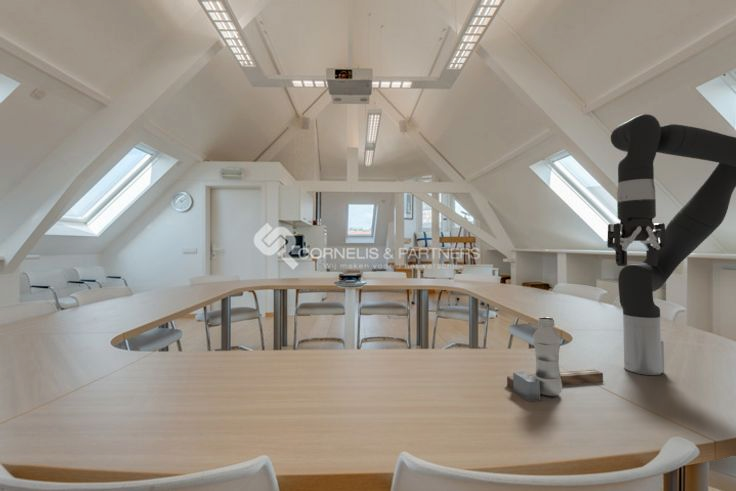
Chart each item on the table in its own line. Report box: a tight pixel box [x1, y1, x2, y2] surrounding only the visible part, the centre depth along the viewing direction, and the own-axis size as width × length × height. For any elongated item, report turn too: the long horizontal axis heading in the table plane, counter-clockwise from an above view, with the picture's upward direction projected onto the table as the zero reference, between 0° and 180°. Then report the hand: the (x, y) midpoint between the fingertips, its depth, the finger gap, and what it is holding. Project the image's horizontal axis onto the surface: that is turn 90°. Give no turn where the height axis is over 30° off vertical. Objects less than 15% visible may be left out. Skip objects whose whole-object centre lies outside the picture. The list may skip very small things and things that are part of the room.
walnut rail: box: [506, 369, 604, 390], centre depth 101 cm, size 28×3×3 cm, turn 99°
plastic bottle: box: [532, 316, 563, 397], centre depth 94 cm, size 6×7×20 cm
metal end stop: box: [512, 371, 541, 403], centre depth 93 cm, size 3×7×5 cm, turn 9°
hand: (637, 265), depth 87 cm, fingers open, 8 cm apart
